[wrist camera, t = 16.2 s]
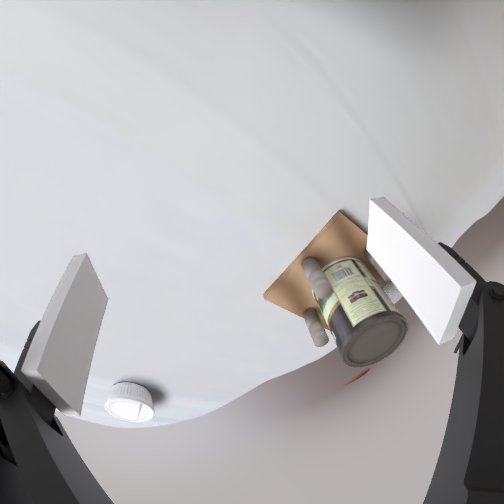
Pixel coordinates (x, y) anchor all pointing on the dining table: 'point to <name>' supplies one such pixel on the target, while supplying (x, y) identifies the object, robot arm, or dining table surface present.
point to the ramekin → (129, 402)
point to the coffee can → (360, 314)
